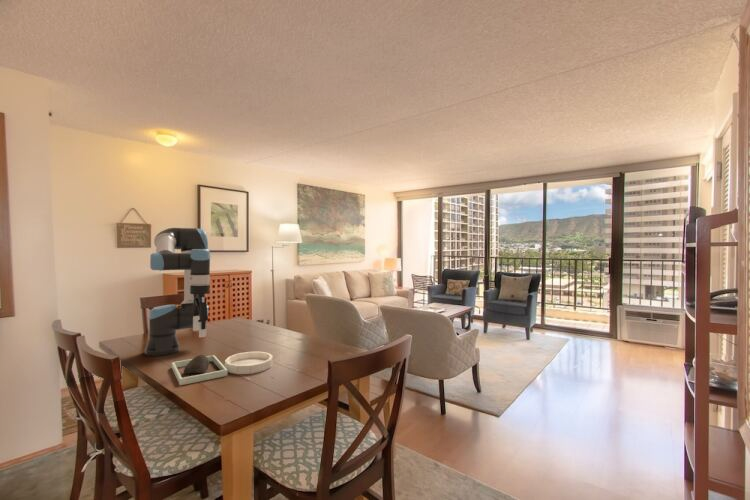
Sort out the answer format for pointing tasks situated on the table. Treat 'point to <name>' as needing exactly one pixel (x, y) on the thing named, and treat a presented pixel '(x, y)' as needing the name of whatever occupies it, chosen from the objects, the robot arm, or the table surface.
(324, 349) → the table surface
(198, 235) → the robot arm
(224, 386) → the table surface
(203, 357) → the stone
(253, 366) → the bowl
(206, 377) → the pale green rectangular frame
